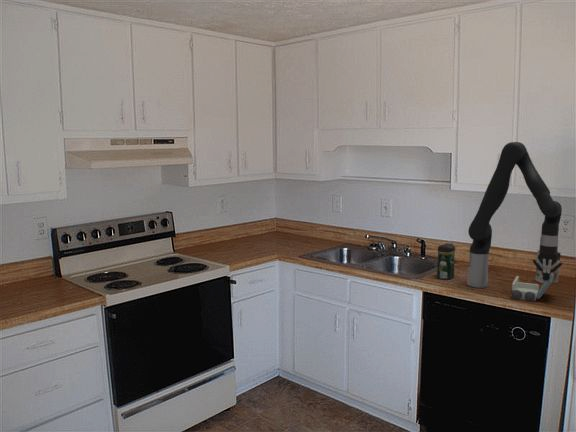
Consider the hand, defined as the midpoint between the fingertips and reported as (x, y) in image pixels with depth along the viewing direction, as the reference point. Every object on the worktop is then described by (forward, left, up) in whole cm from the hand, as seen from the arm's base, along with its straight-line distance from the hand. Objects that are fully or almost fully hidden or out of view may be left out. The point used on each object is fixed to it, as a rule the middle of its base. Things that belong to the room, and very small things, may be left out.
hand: (545, 280), depth 243 cm
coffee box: (-1, +31, -9) cm, 32 cm away
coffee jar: (-49, +13, -9) cm, 52 cm away
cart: (-8, 0, -9) cm, 12 cm away
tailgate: (-2, 0, -7) cm, 7 cm away
